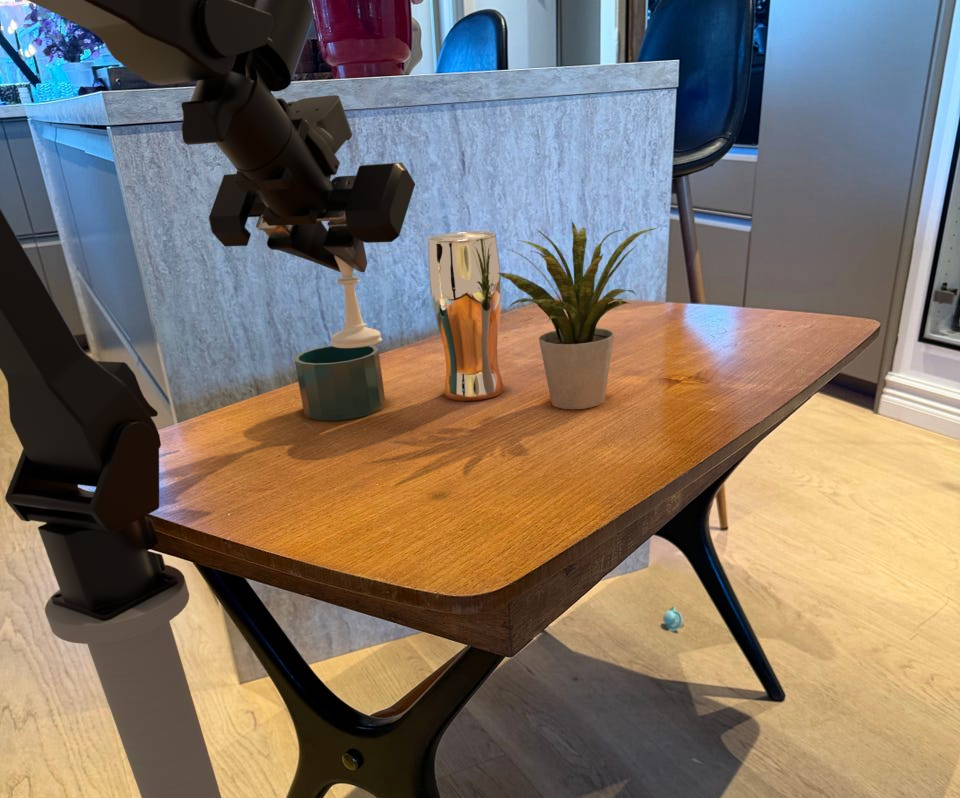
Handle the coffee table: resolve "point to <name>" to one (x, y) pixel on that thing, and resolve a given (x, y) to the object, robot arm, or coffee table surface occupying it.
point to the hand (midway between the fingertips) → (354, 268)
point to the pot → (340, 382)
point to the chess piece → (352, 315)
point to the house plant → (575, 322)
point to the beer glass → (467, 311)
